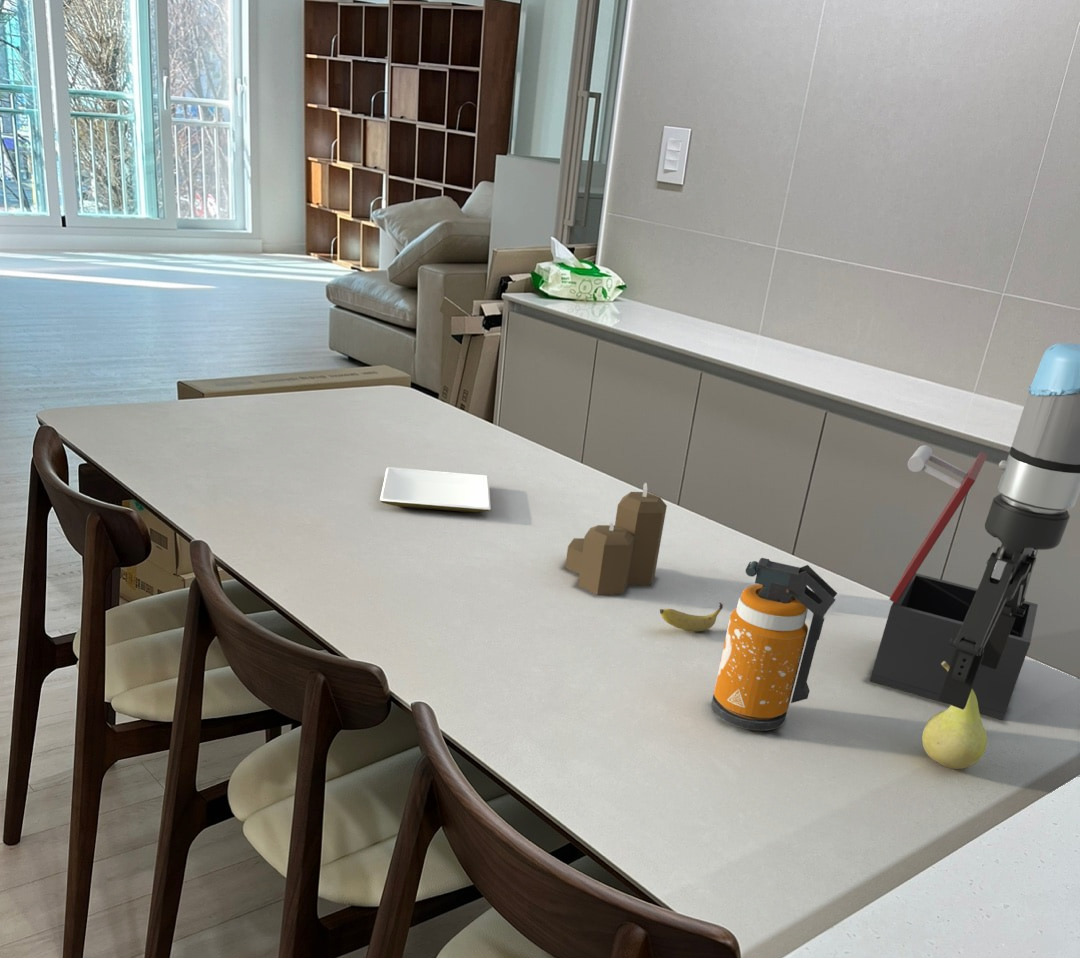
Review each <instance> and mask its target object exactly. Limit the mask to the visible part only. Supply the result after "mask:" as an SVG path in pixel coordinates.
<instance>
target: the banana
mask: <svg viewBox="0 0 1080 958" xmlns="http://www.w3.org/2000/svg"><path fill="white" fill-rule="evenodd" d="M723 606H724V604H723V603H721V602H719V608H717V610H716V611H715V612H714V613H711V614H707V615H696V614H695V615H694V614H689V613H685V612H682V611H679V610H676V609H673V608H660V609H659V613H660V615H661V617H662V619H663V620H664V621H665V623H667V624H669V625H671V626H673V627H674V628H676V629H680V630H683V631H687V632H694V633H698V632H705V631H708V630H709V629H711V628H712V627H713V626H714V625H715V623H716V621H717V617H718V615H719V614H720V612H721V611H722V610H723V608H724V607H723Z"/></svg>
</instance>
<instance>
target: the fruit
mask: <svg viewBox="0 0 1080 958" xmlns="http://www.w3.org/2000/svg"><path fill="white" fill-rule="evenodd" d="M941 665H942V666H943V667H944V668H945V669H946V670H947V671H949V668H950V667H949V665H948V664H947V663H946V662H945V661H943V662H942V663H941ZM921 735H922V737H921V740H922V746H923V749H924V751H925V753H926V755H927V756H928V757H929V758H930V759H932V760H933V761H934V762H936V764H939V765H941V766H944V767H945V768H949V769H951V770H952V769H953V770H962V769H963V770H964V769H966V768H969V767H972V766H973V765H975V764H976V763H977V762H978V761H980V759H982V758H983V755H984V754H985V752H986V750H987V747H988V734H987V731H986V729H985V727H984V724H983V722H982V717H981V714H980V713H979V709H978V702H977V698H976V695H975V693H974V691H973V689H972V690H971V692H970V695H969V698H968V701H967V704H966V707H965V708H964V709H960V708H957V707H955V706H952V705H949V707H948V708H946V709H944V710H942V711H940V712H938V713H935V714H934V715H932V717H931V718H929V720H928V721H927V722H926V724H925V726H924V729H923V732H922V734H921Z"/></svg>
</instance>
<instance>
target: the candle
mask: <svg viewBox="0 0 1080 958" xmlns="http://www.w3.org/2000/svg"><path fill="white" fill-rule="evenodd" d="M666 513H667V504H666V503H665V502H664V501H663V499H662V498H661V497H660V496H658V495H655V494H653V493H650V492H648V483H647V482H644V483H643V485H642V491H630V492H629V493H627V494H626V495H624V496H622V497H621V499H620V501H619V502H618V504H617V508H616V513H615V514H616V515H615V520H614V521H615V522H614V521H613V520H610V522H609V524H603V525H602V524H597V525H594V526H592V527H590V528H589V529H588V531H587V532H586V533H585V535H584V538H579V537H578V538H577V537H576V538H575V537H574V538H573V539H572V540H571V541H570V543H569V544H568V546H567V550H566V558H565V559H566V560H565V566H564V568H565V569H567V570H569V571H571V572H574V573H576V574H578V582H577V586H578V587H579V588H582V589H584V590H586V591H588V592H591V593H593V594H595V595H597V596H603V595H604V596H609V595H610V596H611V595H612V596H615V595H621V596H622V595H624V592H625V590H626V588H627V587H628V586H630V587H631V586H632V587H633V586H634V587H635V586H636V587H637V586H638V587H639V586H642V587H643V586H651V585H652V583H653V581H654V579H655V576H656V571H657V565H658V560H659V559H658V558H659V555H660V547H661V542H662V537H663V536H662V535H663V531H664V525H665V519H666Z"/></svg>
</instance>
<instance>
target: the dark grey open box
mask: <svg viewBox="0 0 1080 958" xmlns="http://www.w3.org/2000/svg"><path fill="white" fill-rule="evenodd" d="M977 589H978V588H976V587H972V586H968V585H964V584H959V583H956V582H953V581H949V580H945V579H944V580H943V579H942V578H941V579H940V578H936V577H932V576H927V575H925V574H921V573H917V572H916V573H915V575H914V576H913V578H912V580H911V581H910V583H909V584H908V586H907V587H906V589H905V590H904V592H903V593H902V595H901V597H900V598H899V600H898V601H897V603H894V602H893V601H892V603H891V606H890V608H889V612H888V616H887V619H886V622H885V626H884V629H883V632H882V636H881V640H880V642H879V647H878V650H877V654H876V657H875V660H874V663H873V668H872V671H871V673H870V674H871V675H870V677H869V682H872V683H875V684H879V685H882V686H886V687H888V688H893V689H896V690H898V691H899V690H900V691H902V692H906V693H909V694H912V695H916V696H919V697H923V698H926V699H929V700H933V701H936V702H939V703H942V704H946V705H948V704H947V703H944V702H941V701H938V700H939V697H940V694H941V691H942V688H943V685H944V682H945V679H946V676H947V673H948V671H947V670H946V669H945V668H944V667H943V666H942V665H941V663H942V662H943V661H945V662H946V663H947V664H948V665H949V667H950V665H951V662H952V659H953V656H954V653H955V650H956V649H955V648H953V647H951V646H949V643H950V640H951V638H952V639H955V640H956V638H957V636H958V634H959V631H960V629H961V627H962V624H963V622H964V620H965V617H966V615H967V613H968V610H969V608H970V606H971V603H972V601H973V599H974V596H975V594H976V591H977ZM1020 606H1022V607H1025V608H1026V610H1025V613H1024V615H1023V617H1021V616H1018V615H1014V614H1011V616H1014V617H1016V618H1015V621H1014V623H1013V626H1012V629H1011V631H1010V634H1009V637H1008V640H1007V642H1006V645H1005V648H1004V651H1003V653H1002V656H1001V659H1000V662H999V664H998V667H997V669H993V668H990V667H987V666H984V665H981V664H980V667H979V670H978V673H977V676H976V678H975V681H974V684H973V687H972V689H973V691H974V693H975V695H976V698H977V702H978V709H979V713H980V715H985V716H986V717H987V716H988V717H991V718H994V719H998V720H1001V721H1003V720H1004V716H1005V714H1006V712H1007V709H1008V706H1009V703H1010V701H1011V698H1012V695H1013V692H1014V690H1015V687H1016V685H1017V681H1018V679H1019V676H1020V673H1021V671H1022V667H1023V665H1024V662H1025V660H1026V657H1027V653H1028V652H1029V649H1030V646H1031V642H1032V639H1033V638H1032V637H1033V632H1034V627H1035V622H1036V618H1037V617H1036V616H1037V611H1038V606H1039V604H1038V603H1035V602H1030V601H1027V600H1025V601H1024V603H1022V605H1020ZM967 640H970V641H973V642H976V641H974V640H972V639H969V638H967Z"/></svg>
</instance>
